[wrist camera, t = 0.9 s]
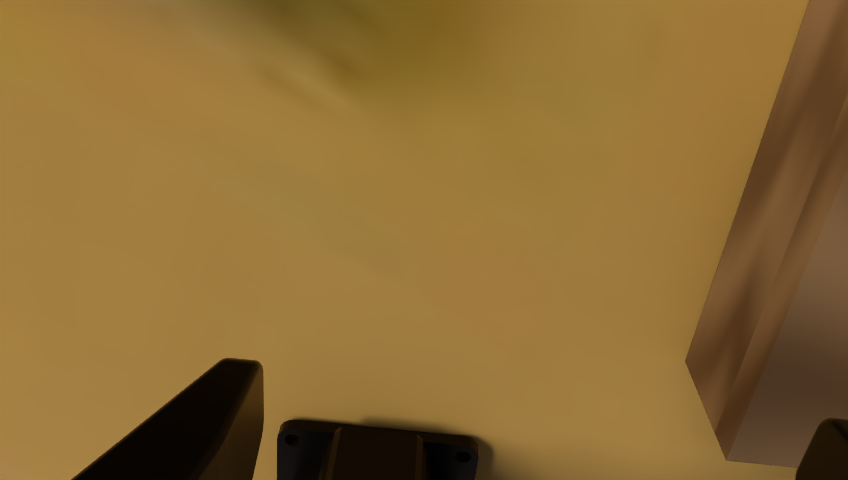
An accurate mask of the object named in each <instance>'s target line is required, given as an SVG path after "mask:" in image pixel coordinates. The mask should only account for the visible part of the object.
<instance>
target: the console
mask: <svg viewBox="0 0 848 480" xmlns="http://www.w3.org/2000/svg"><path fill="white" fill-rule="evenodd" d="M685 362H686V365H687V367H688V369H689V372H690V374H691V377H692V379H693V381H694V384H695V386H696V389H697V391H698V394H699V396H700V398H701V401H702V403H703V406H704V408H705V410H706V413H707V415H708V418H709V420H710V423H711V425H712V427H713V430H714V432H715V435H716V437H717V439H718V442H719V444H720V447H721V449H722V452H723V454H724V456H725V459H726V461H735V462H745V463H755V464H765V465H775V466H786V467H796V468H798V466H799V464H800V462H801V460H802V458H803V456H804V454H805V452H806V450H807V447H808V445H809V443H810V441H811V439H812V437H813V435H814V433H815V431H816V429H817V427H818V425H819V424H820V423H821V422H822V421H823V420H824V419H827V418H842V419H848V0H810V1H809V4H808V7H807V9H806V12H805V15H804V18H803V21H802V24H801V27H800V30H799V33H798V36H797V39H796V41H795V44H794V47H793V50H792V53H791V56H790V59H789V62H788V65H787V68H786V70H785V73H784V76H783V79H782V82H781V85H780V88H779V91H778V94H777V97H776V99H775V102H774V105H773V108H772V111H771V114H770V117H769V120H768V123H767V126H766V128H765V131H764V134H763V137H762V140H761V143H760V146H759V149H758V152H757V155H756V158H755V160H754V163H753V166H752V169H751V172H750V175H749V178H748V181H747V184H746V187H745V189H744V192H743V195H742V198H741V201H740V204H739V207H738V210H737V213H736V216H735V218H734V221H733V224H732V227H731V230H730V233H729V236H728V239H727V242H726V245H725V247H724V250H723V253H722V256H721V259H720V262H719V265H718V268H717V271H716V274H715V277H714V279H713V282H712V285H711V288H710V291H709V294H708V297H707V300H706V303H705V306H704V308H703V311H702V314H701V317H700V320H699V323H698V326H697V329H696V332H695V335H694V337H693V340H692V343H691V346H690V349H689V352H688V355H687V358H686V361H685Z"/></svg>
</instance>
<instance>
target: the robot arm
mask: <svg viewBox="0 0 848 480" xmlns="http://www.w3.org/2000/svg"><path fill="white" fill-rule="evenodd" d="M263 422H264V393H263V368H262V365H261V364H260V363H259V362H258V361H256V360H246V359H236V358H225V359H222V360H221V361H219V362H218V363H216V364H215V365H214V366H213V367H211V368H210V369H209V370H208V371H206V372H205V373H204V374H203V375H201V376H200V377H199V378H198V379H196V380H195V381H194V382H193V383H191V384H190V385H189V386H188V387H186V388H185V389H184V390H183V391H181V392H180V393H179V394H178V395H176V396H175V397H174V398H173V399H171V400H170V401H169V402H168V403H166V404H165V405H164V406H163V407H161V408H160V409H159V410H158V411H156V412H155V413H154V414H153V415H151V416H150V417H149V418H148V419H146V420H145V421H144V422H143V423H141V424H140V425H139V426H138V427H136V428H135V429H134V430H133V431H131V432H130V433H129V434H128V435H126V436H125V437H124V438H123V439H121V440H120V441H119V442H118V443H116V444H115V445H114V446H113V447H111V448H110V449H109V450H108V451H106V452H105V453H104V454H103V455H101V456H100V457H99V458H98V459H96V460H95V461H94V462H93V463H91V464H90V465H89V466H88V467H86V468H85V469H84V470H83V471H81V472H80V473H79V474H78V475H76V476H75V477H74V478H73V479H71V480H252V478H253V474H254V469H255V465H256V460H257V456H258V451H259V447H260V442H261V438H262V432H263ZM291 434H293V435H297V436H298V437H293V436H290V435H291ZM460 451H465V452H467V453H463V454H462V453H458V452H460ZM477 463H478V445H477V443H476V442H475V441H474V440H473V439H471V438H468V437H463V436H453V435H443V434H433V433H423V432H412V431H402V430H392V429H382V428H372V427H362V426H352V425H342V424H331V423H321V422H311V421H301V420H289V421H286V422H284V423H283V424H282V425H281V427H280V430H279V434H278V438H277V480H474V479H475V474H476V468H477ZM795 480H848V419H842V418H827V419H824V420H823V421H822V422H821V423H820V424H819V425H818V427H817V429H816V431H815V433H814V435H813V437H812V439H811V441H810V443H809V445H808V447H807V450H806V452H805V454H804V456H803V458H802V460H801V462H800V464H799V466H798V469H797V473H796V479H795Z"/></svg>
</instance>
